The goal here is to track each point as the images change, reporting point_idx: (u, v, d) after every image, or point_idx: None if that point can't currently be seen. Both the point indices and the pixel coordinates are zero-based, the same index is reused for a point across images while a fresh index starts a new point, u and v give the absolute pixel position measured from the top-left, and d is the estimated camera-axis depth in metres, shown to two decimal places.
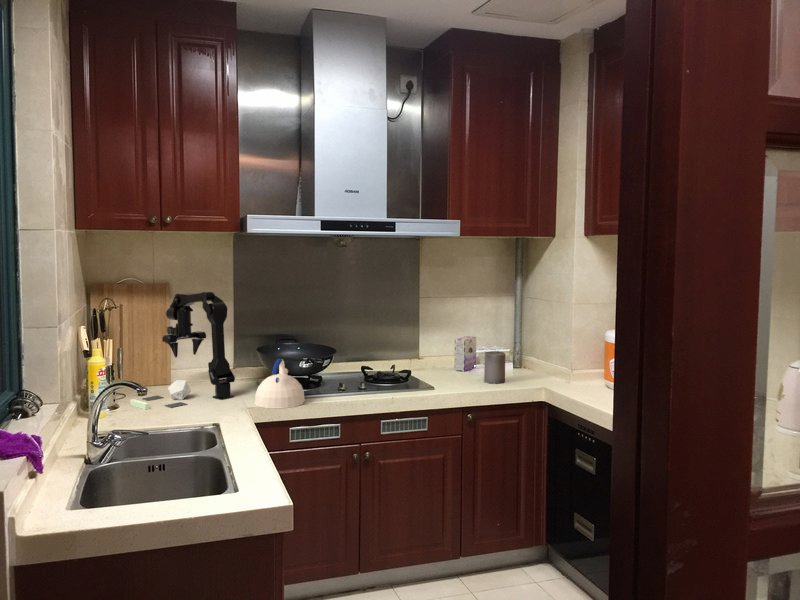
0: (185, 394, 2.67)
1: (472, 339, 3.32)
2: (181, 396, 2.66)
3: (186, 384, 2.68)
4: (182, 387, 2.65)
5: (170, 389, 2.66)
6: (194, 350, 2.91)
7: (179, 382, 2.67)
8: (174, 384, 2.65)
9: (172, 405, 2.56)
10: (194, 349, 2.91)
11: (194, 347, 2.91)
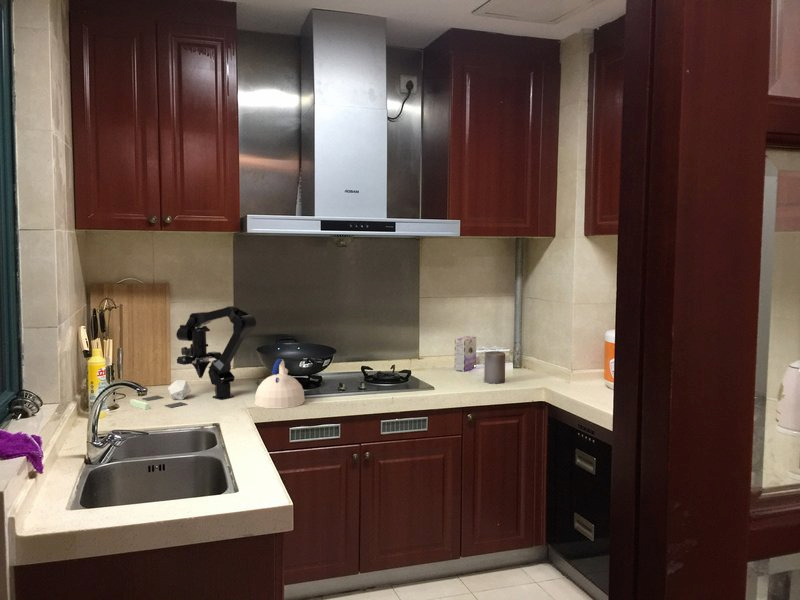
0: (185, 394, 2.67)
1: (472, 339, 3.32)
2: (181, 396, 2.66)
3: (186, 384, 2.68)
4: (182, 387, 2.65)
5: (170, 389, 2.66)
6: None
7: (179, 382, 2.67)
8: (174, 384, 2.65)
9: (172, 405, 2.56)
10: None
11: None
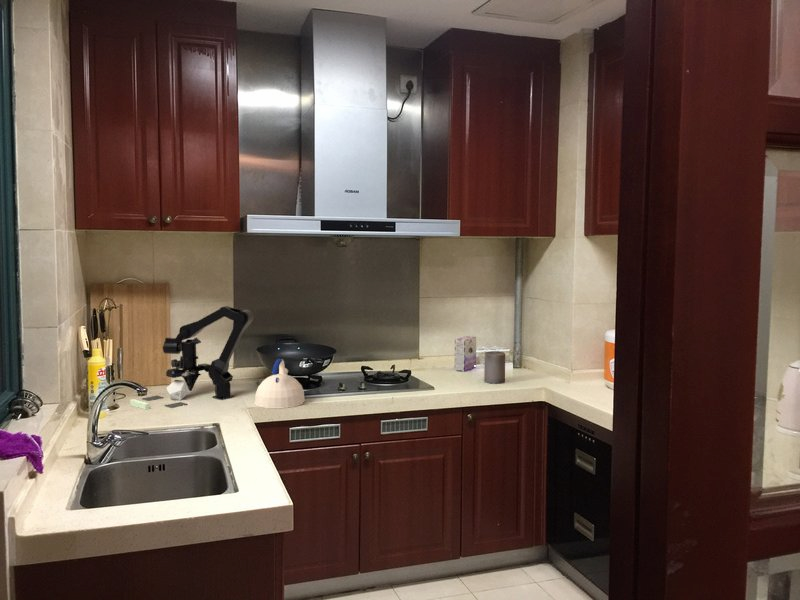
0: (184, 394, 2.67)
1: (472, 339, 3.32)
2: (180, 396, 2.65)
3: (185, 384, 2.67)
4: (181, 387, 2.65)
5: (169, 389, 2.65)
6: None
7: (178, 382, 2.66)
8: (173, 384, 2.65)
9: (172, 405, 2.56)
10: None
11: None
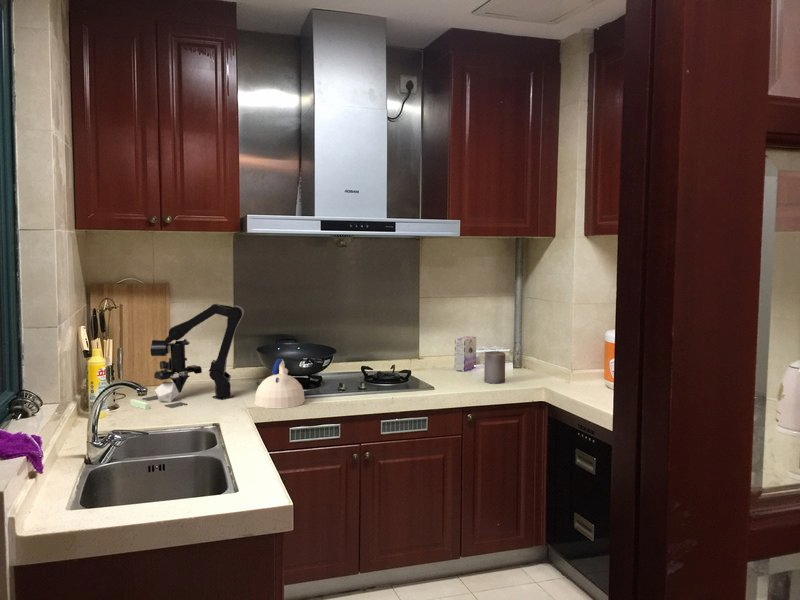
0: (173, 396, 2.64)
1: (472, 339, 3.32)
2: (170, 398, 2.62)
3: (174, 386, 2.64)
4: (171, 389, 2.62)
5: (158, 391, 2.62)
6: None
7: (167, 384, 2.63)
8: (162, 386, 2.61)
9: (172, 405, 2.56)
10: None
11: None
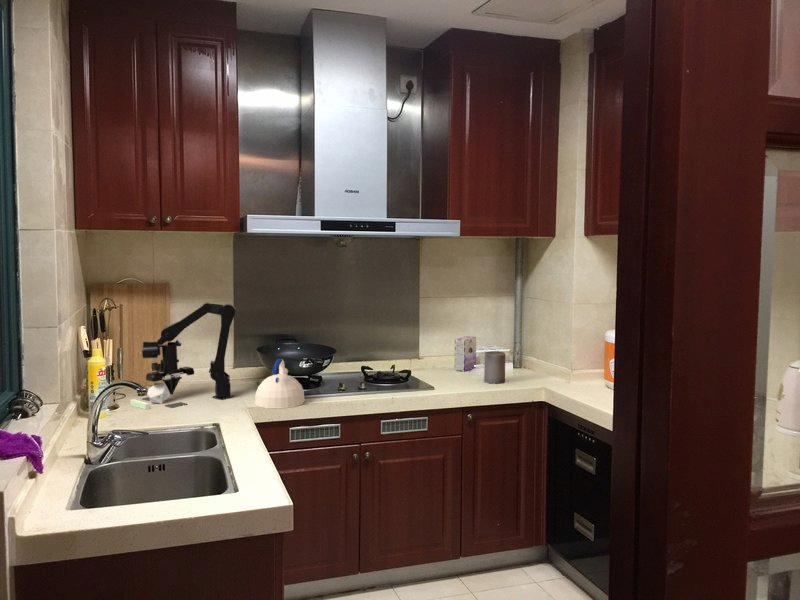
0: (165, 397, 2.61)
1: (472, 339, 3.32)
2: (161, 400, 2.60)
3: (166, 387, 2.62)
4: (162, 390, 2.59)
5: (149, 393, 2.59)
6: None
7: (158, 385, 2.60)
8: (153, 387, 2.59)
9: (172, 405, 2.56)
10: None
11: None
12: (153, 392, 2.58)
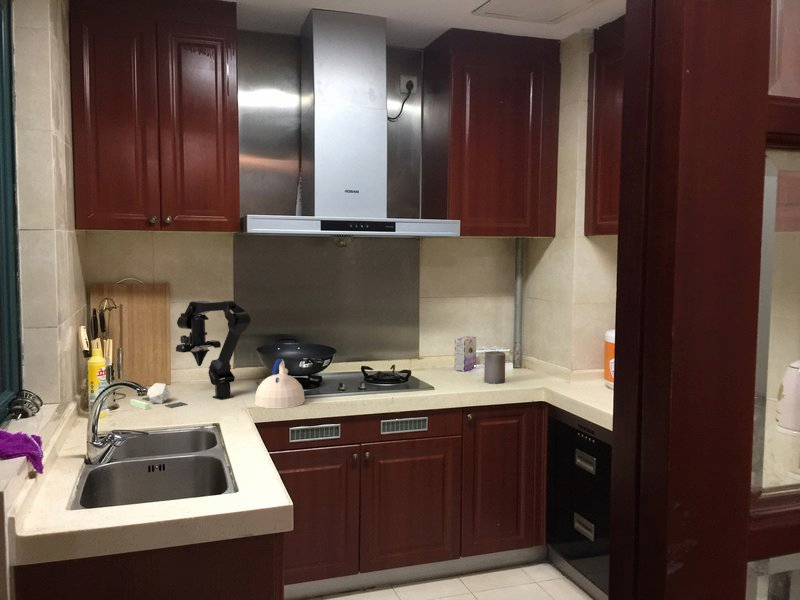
0: (165, 397, 2.61)
1: (472, 339, 3.32)
2: (161, 400, 2.60)
3: (165, 387, 2.62)
4: (162, 390, 2.59)
5: (149, 393, 2.59)
6: None
7: (158, 385, 2.60)
8: (153, 387, 2.59)
9: (172, 405, 2.56)
10: None
11: None
12: (153, 392, 2.58)
